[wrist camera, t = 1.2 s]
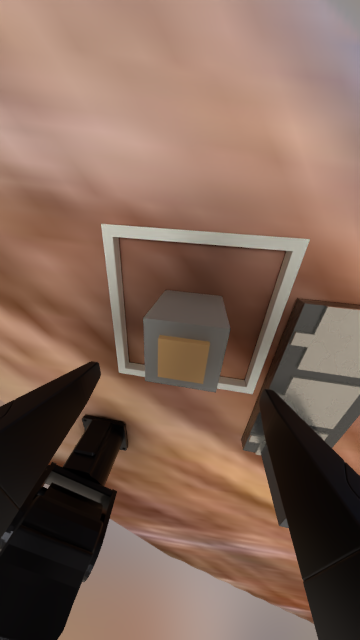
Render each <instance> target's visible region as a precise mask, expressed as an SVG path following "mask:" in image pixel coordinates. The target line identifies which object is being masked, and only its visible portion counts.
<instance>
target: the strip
mask: <svg viewBox="0 0 360 640" xmlns="http://www.w3.org/2000/svg"><path fill="white" fill-rule="evenodd" d="M263 389H272V390H274V391H275V392H276V393H277V394H278V395H279V396H280V397H281V398H282V399H283V400H284V401H285V402H286V403H287V404H288V405H289V406H290V407H291V408H292V409H293V410H294V411H295V412H296V413H297V414H298V415H299V416H300V417H301V418H302V419H303V420H304V421H305V422H306V423H307V424H308V425H309V426H310V427H311V428H312V429H313V430H314V431H315V432H316V433H317V434H318V435H319V436H320V437H322V439H323V440H324V441H325V442H326V443H327V444H328V445H329V446H330V447H331V448H332V447H333V446H334V445H335V444H336V443H337V441H338V440H339V439H340V438H341V437H342V435H343V434H344V433H345V432H346V431H347V429H348V428H349V427H350V426H351V425H352V423H353V422H354V421H355V420H356V419H357V417H358V416H359V415H360V305H355V304H346V303H336V302H327V301H317V300H308V299H298V298H297V301H296V303H295V306H294V308H293V311H292V313H291V316H290V318H289V321H288V323H287V326H286V329H285V331H284V334H283V336H282V339H281V341H280V344H279V346H278V349H277V351H276V354H275V356H274V359H273V361H272V364H271V366H270V369H269V372H268V374H267V377H266V379H265V382H264V384H263V387H262V389H261V392H260V394H259V397H258V399H257V402H256V404H255V407H254V409H253V412H252V415H251V417H250V420H249V422H248V425H247V427H246V430H245V432H244V435H243V437H242V440H241V441H242V447H243V450H245V451H250V452H255V454H257V455H261V451H262V450H263V448H264V446H265V444H266V440H265V436H264V431H263V425H262V419H261V412H260V406H259V399H260V396H261V394H262V391H263Z"/></svg>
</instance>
